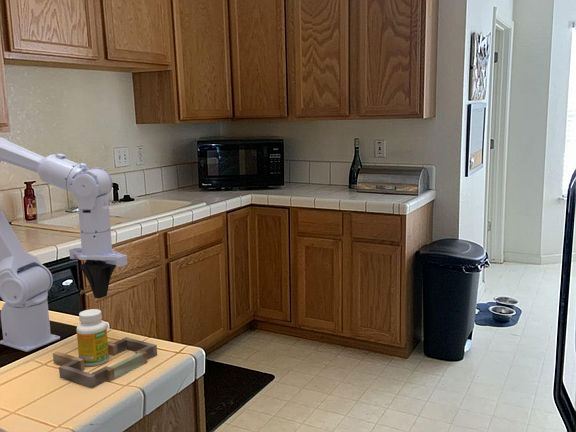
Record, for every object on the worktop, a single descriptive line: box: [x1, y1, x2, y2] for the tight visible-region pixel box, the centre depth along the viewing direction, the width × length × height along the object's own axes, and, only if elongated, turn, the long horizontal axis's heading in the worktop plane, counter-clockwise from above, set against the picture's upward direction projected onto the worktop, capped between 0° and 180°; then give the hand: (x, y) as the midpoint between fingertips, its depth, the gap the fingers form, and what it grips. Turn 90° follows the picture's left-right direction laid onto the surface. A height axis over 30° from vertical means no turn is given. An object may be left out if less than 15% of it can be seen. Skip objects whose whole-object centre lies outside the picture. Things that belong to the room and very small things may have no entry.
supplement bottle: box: [76, 308, 110, 367], centre depth 106 cm, size 5×5×10 cm
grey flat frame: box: [52, 336, 158, 389], centre depth 105 cm, size 16×16×2 cm
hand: (100, 296), depth 112 cm, fingers closed
